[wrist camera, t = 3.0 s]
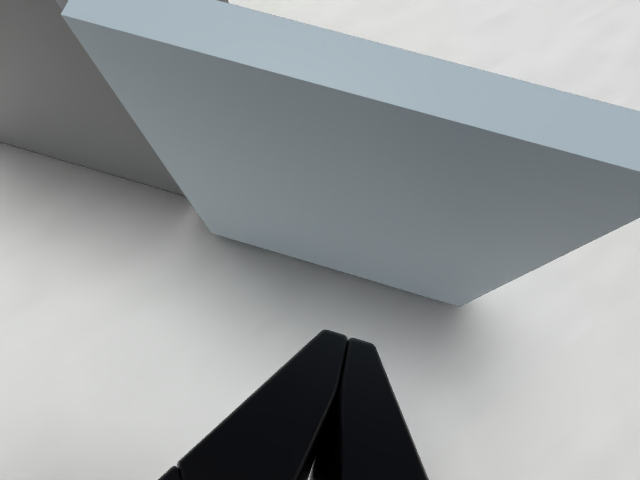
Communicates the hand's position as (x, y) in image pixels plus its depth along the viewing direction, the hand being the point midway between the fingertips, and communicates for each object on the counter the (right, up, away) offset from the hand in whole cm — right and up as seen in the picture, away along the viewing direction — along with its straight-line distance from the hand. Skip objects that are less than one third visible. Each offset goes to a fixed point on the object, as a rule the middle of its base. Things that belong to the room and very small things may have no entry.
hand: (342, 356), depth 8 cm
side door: (0, +2, +7) cm, 7 cm away
